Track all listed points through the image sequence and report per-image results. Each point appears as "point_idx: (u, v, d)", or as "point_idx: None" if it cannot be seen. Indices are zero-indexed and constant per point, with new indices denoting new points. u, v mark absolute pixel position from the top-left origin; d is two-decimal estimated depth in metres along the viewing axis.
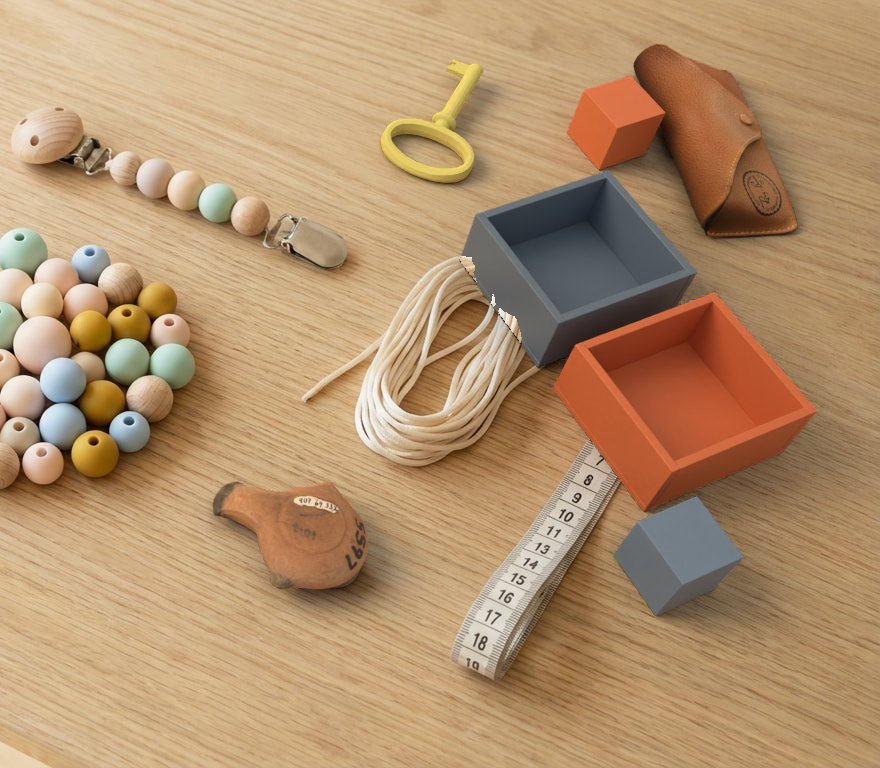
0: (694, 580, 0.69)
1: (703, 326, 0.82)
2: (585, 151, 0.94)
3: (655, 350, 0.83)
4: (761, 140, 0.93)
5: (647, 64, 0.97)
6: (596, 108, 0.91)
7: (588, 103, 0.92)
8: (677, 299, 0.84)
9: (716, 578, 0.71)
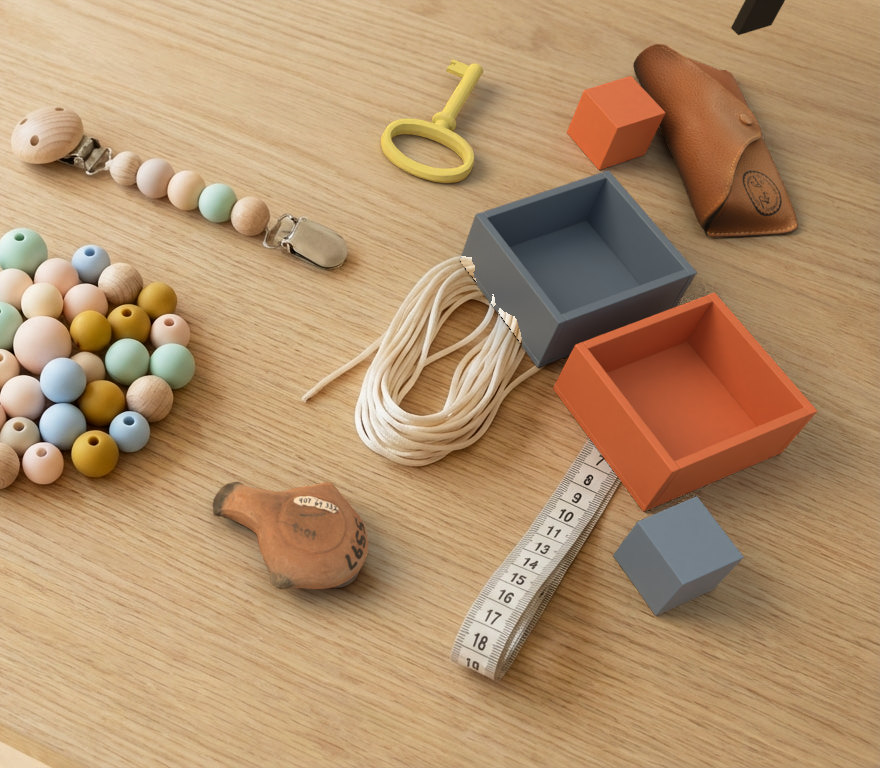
0: (694, 580, 0.69)
1: (703, 326, 0.82)
2: (585, 151, 0.94)
3: (655, 350, 0.83)
4: (761, 140, 0.93)
5: (647, 64, 0.97)
6: (596, 108, 0.91)
7: (588, 103, 0.92)
8: (677, 299, 0.84)
9: (716, 578, 0.71)
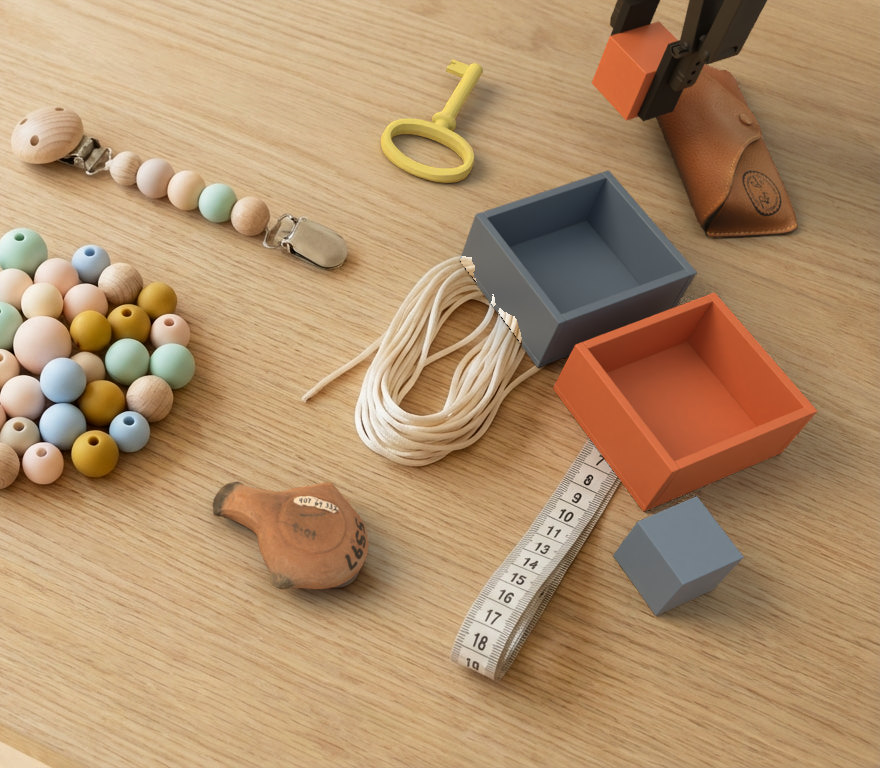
0: (694, 580, 0.69)
1: (703, 326, 0.82)
2: (611, 101, 0.90)
3: (655, 350, 0.83)
4: (761, 140, 0.93)
5: None
6: (623, 54, 0.87)
7: (614, 49, 0.88)
8: (677, 299, 0.84)
9: (716, 578, 0.71)
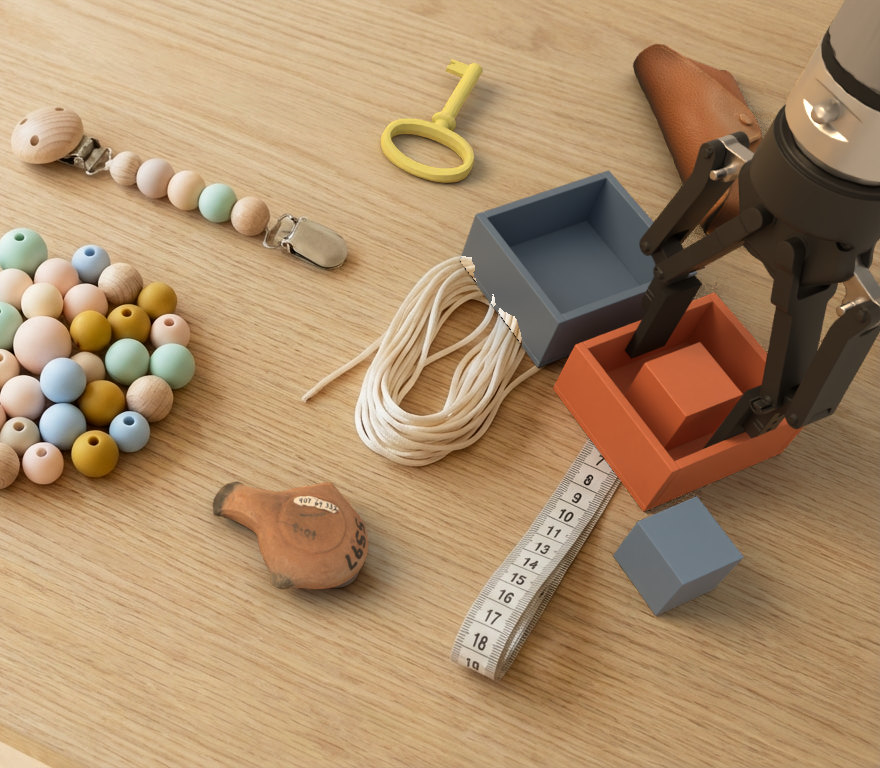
0: (694, 580, 0.69)
1: (703, 326, 0.82)
2: None
3: (655, 350, 0.83)
4: (761, 140, 0.93)
5: (647, 64, 0.97)
6: (660, 387, 0.76)
7: (649, 378, 0.77)
8: None
9: (716, 578, 0.71)
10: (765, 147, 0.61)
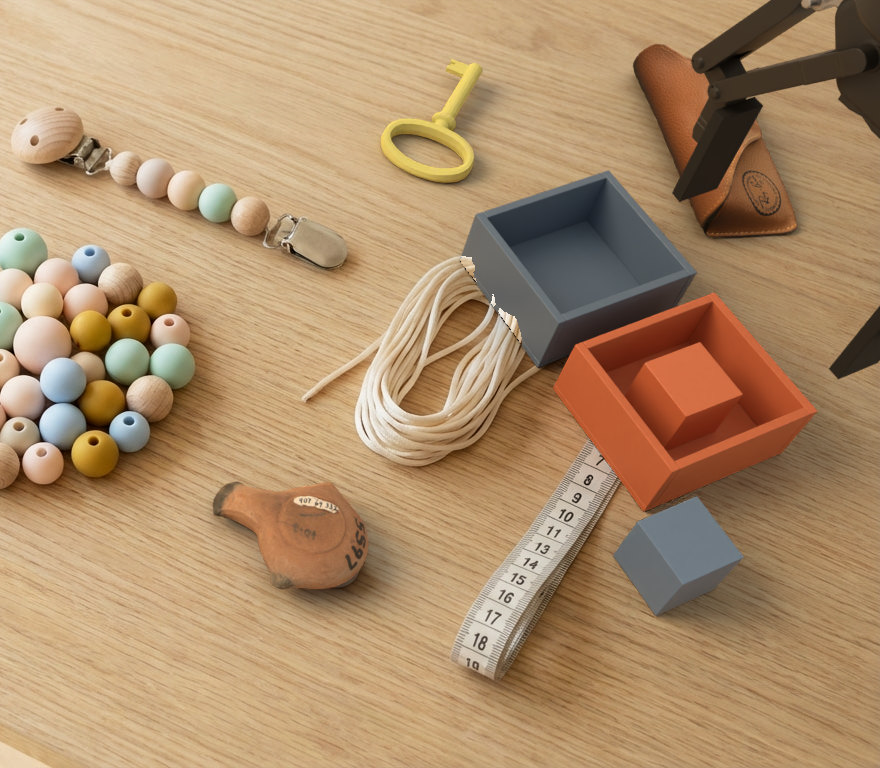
0: (694, 580, 0.69)
1: (703, 326, 0.82)
2: None
3: (655, 350, 0.83)
4: (760, 140, 0.93)
5: (647, 64, 0.97)
6: (660, 387, 0.76)
7: (649, 378, 0.77)
8: (677, 299, 0.84)
9: (716, 578, 0.71)
10: None
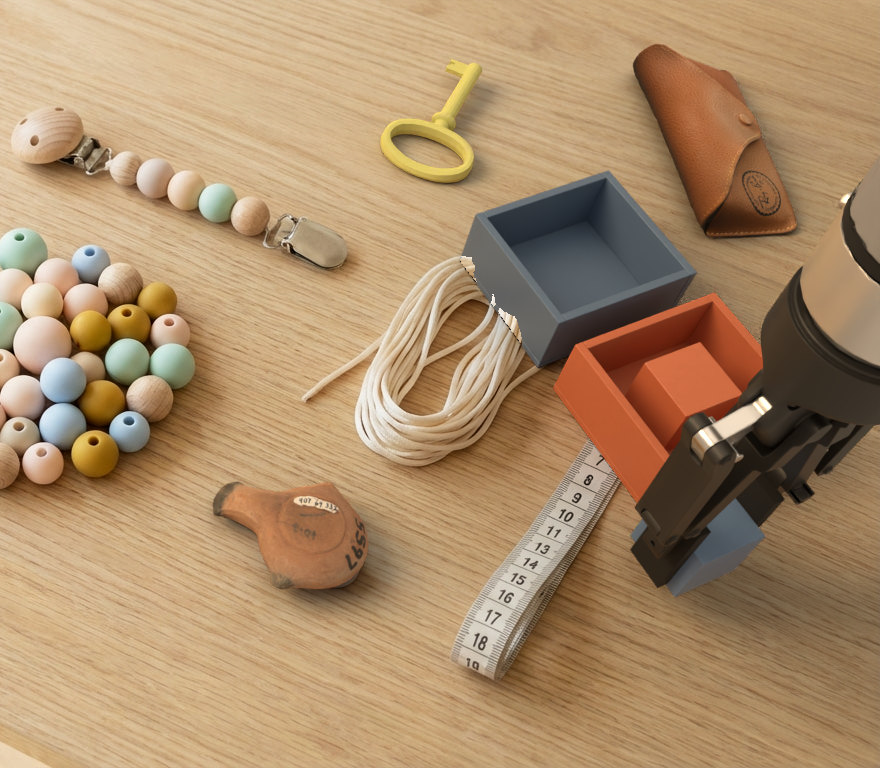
0: (714, 560, 0.67)
1: (703, 326, 0.82)
2: None
3: (655, 350, 0.83)
4: (760, 140, 0.93)
5: (646, 64, 0.97)
6: (660, 387, 0.76)
7: (649, 378, 0.77)
8: (677, 299, 0.84)
9: (737, 558, 0.69)
10: None
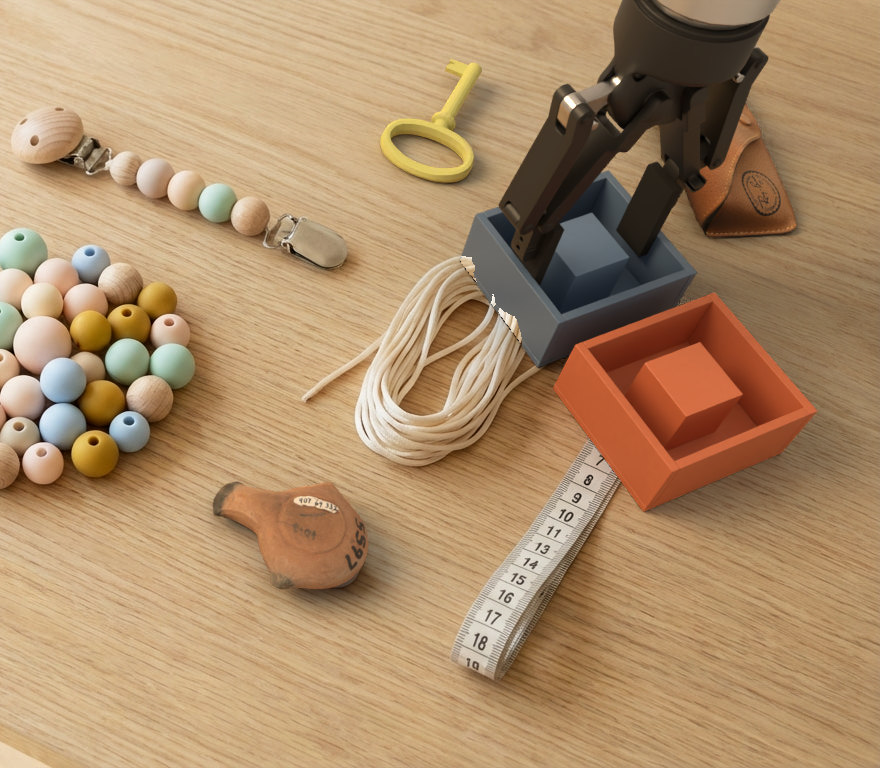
0: (586, 274, 0.81)
1: (703, 326, 0.82)
2: None
3: (655, 350, 0.83)
4: (760, 140, 0.93)
5: None
6: (660, 387, 0.76)
7: (649, 378, 0.77)
8: (677, 299, 0.84)
9: (607, 280, 0.83)
10: None
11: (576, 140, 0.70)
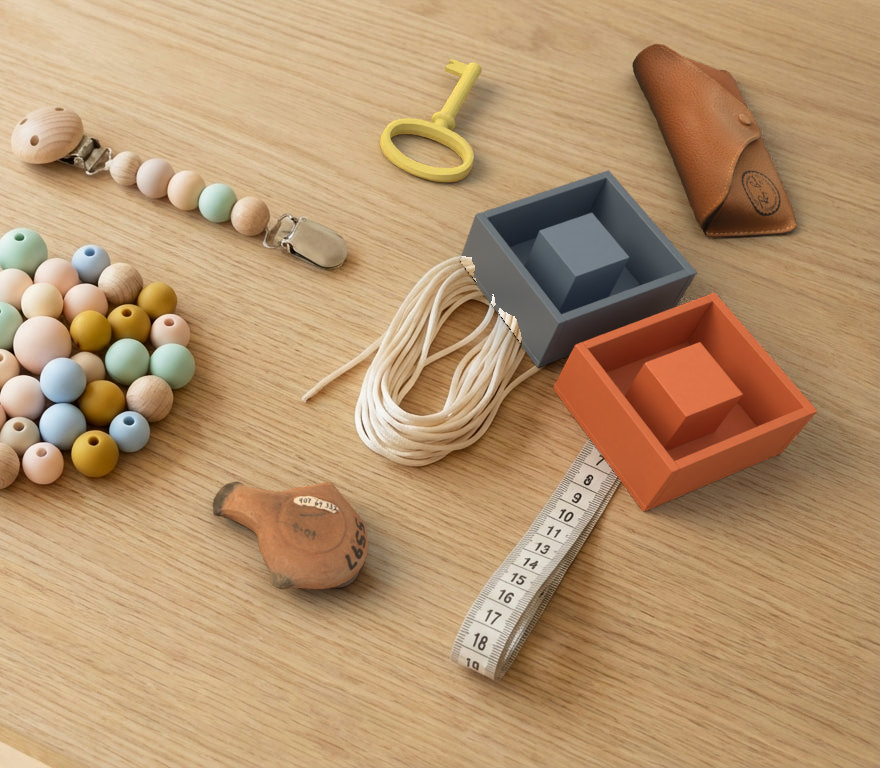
0: (586, 274, 0.81)
1: (703, 326, 0.82)
2: None
3: (655, 350, 0.83)
4: (760, 140, 0.93)
5: (646, 64, 0.97)
6: (660, 387, 0.76)
7: (649, 378, 0.77)
8: (677, 299, 0.84)
9: (607, 280, 0.83)
10: None
11: None
